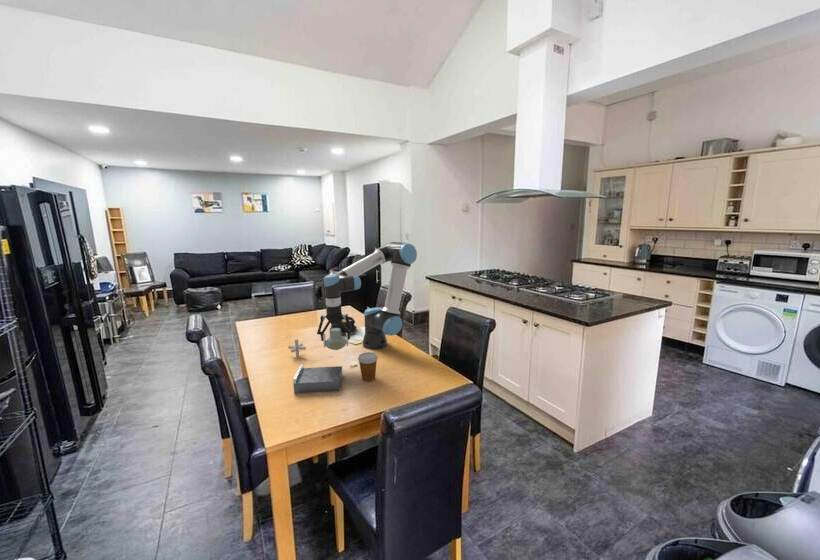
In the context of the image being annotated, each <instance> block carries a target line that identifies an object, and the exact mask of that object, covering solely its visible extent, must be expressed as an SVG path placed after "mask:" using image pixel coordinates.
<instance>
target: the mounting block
mask: <svg viewBox="0 0 820 560" xmlns="http://www.w3.org/2000/svg"><path fill="white" fill-rule="evenodd" d="M342 380H343V366H341V365H340V366H338V365H337V366H320V367H318V366H317V367H315V366H314V367H304V363H303V364H301V363H300V365H299V367H298V368H297V371H296V372H295V375H294V376H293V379H292V382H293V393H294V395H295V394H296V395H297V394H298V393H299V394H300V395H301V394H313V393H314V394H315V393H318V392H319V393H334V392H335V391H337V392H340V391H339V390H340V389H341V385H342ZM335 393H336V392H335Z"/></svg>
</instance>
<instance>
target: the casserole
mask: <svg viewBox="0 0 820 560" xmlns="http://www.w3.org/2000/svg"><path fill="white" fill-rule="evenodd" d="M348 319H349V321H350V323H351V326H352V328H353V332H352V333H351V334H353V333H355V332H357V328H358V327H357V325H355V323H356V320H355V319H354V318H353V317H351V316H348ZM341 320H342V321H343V323H344V324H345V325H346V327H347V328H348V329H349V327H348V324H347V322H346V320H345V319H344V317H342V319H341ZM329 325H330V327H329V330H330V329H333V328H340V329H341V335H346V333H347V332H346V331H345V330H344V328H343V327H342V326H341V325H340V324H339V323H330V324H329ZM349 330H350V329H349Z"/></svg>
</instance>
